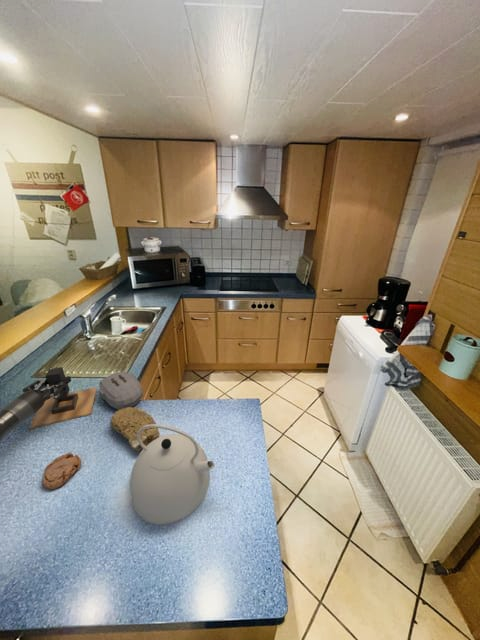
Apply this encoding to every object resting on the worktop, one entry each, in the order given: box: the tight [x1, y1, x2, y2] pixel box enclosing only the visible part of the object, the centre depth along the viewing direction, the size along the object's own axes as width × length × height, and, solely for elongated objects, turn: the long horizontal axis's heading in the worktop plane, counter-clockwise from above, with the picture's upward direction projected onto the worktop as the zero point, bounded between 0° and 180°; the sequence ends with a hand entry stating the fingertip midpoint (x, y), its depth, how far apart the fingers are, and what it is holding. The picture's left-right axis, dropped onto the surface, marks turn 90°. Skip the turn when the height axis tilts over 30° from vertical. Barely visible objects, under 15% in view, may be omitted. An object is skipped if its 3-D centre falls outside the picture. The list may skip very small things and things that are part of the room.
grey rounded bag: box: [98, 370, 144, 411], centre depth 106 cm, size 15×8×20 cm
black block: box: [44, 366, 71, 399], centre depth 96 cm, size 4×4×11 cm
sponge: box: [109, 406, 161, 452], centre depth 89 cm, size 13×8×20 cm
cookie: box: [42, 452, 82, 490], centre depth 76 cm, size 10×11×3 cm
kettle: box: [129, 423, 216, 525], centre depth 70 cm, size 25×23×23 cm
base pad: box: [28, 387, 97, 430], centre depth 101 cm, size 20×16×3 cm
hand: (62, 377), depth 98 cm, fingers closed on black block, 6 cm apart
